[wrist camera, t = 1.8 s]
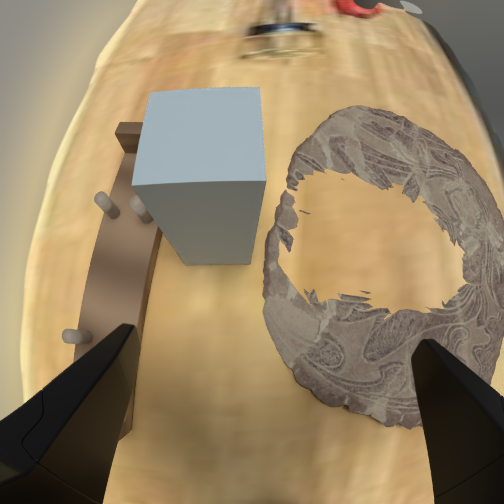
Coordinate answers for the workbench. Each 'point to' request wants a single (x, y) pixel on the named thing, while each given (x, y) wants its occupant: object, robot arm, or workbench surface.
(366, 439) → the workbench surface
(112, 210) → the rail
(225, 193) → the frame block
